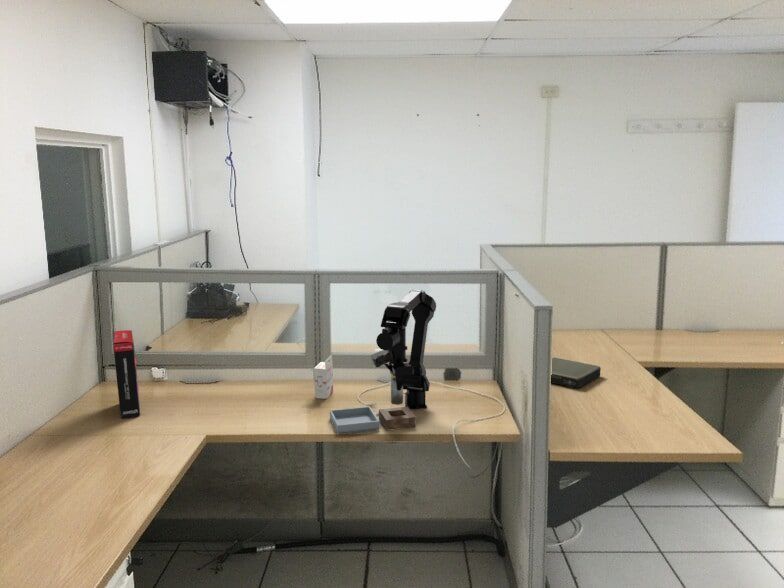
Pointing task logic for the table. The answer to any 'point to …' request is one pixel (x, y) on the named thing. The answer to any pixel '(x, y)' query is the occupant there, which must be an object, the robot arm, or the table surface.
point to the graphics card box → (126, 373)
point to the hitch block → (397, 418)
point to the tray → (354, 420)
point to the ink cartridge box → (323, 379)
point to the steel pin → (396, 392)
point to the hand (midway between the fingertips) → (396, 388)
